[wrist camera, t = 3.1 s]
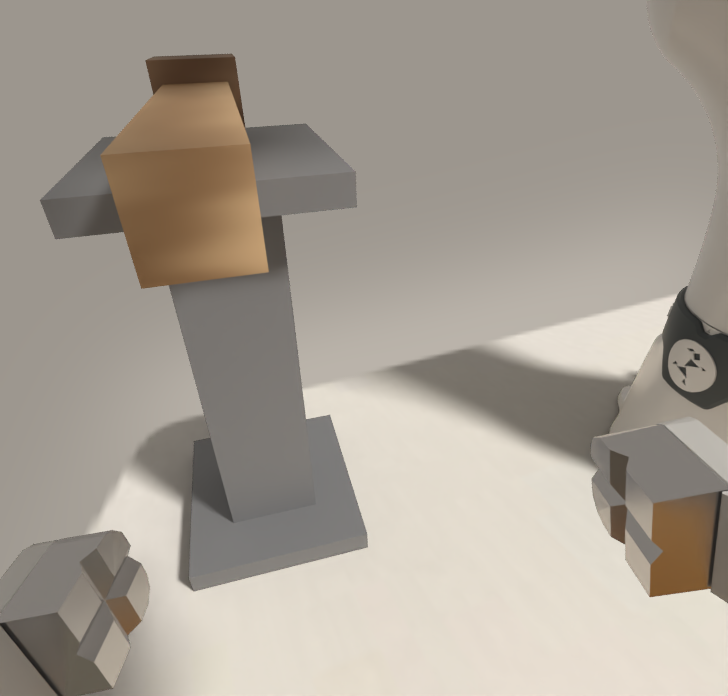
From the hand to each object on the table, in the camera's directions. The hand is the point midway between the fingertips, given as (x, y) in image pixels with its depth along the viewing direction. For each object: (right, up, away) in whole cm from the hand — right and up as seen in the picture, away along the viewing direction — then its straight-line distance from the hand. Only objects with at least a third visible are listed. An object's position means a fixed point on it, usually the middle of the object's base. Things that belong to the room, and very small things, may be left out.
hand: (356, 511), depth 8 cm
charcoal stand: (-7, -9, +30) cm, 32 cm away
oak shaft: (-6, +10, +11) cm, 16 cm away
